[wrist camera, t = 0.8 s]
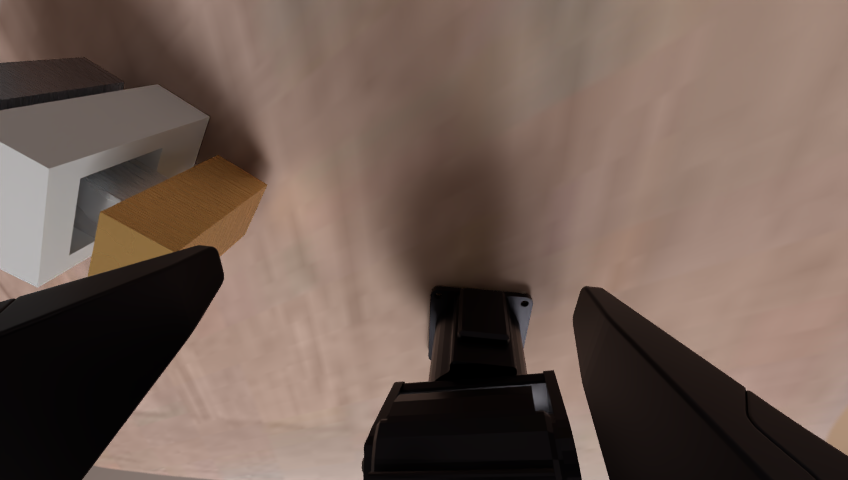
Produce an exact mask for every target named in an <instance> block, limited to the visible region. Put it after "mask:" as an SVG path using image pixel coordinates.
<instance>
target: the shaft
mask: <svg viewBox="0 0 848 480" xmlns="http://www.w3.org/2000/svg"><path fill="white" fill-rule="evenodd" d="M266 187H267V184H265V183H264V182H262V181H260V180H259V179H257V178H255V177H254V176H252V175H251V174H249V173H247V172H246V171H244V170H242V169H241V168H239V167H237V166H236V165H234V164H232V163H231V162H229V161H227V160H226V159H224V158H223V157H221V156H219V155H217V156H215V157H213V158H211V159H208V160H206V161H204V162H202V163H200V164H198V165H196V166H194V167H192V168H190V169H188V170H186V171H184V172H182V173H179V174H177V175H175V176H173V177H171V178H167V177H166V176H164V175H162V174H160V173H159V172H157V171H155V170H154V169H152V168H150V167H148V166H147V165H145V164H143V163H142V162H140V161H138V160H136V159H135V158H134V159H131V160H128V161H126V162H123V163H120V164H117V165H115V166H112V167H109V168H107V169H104V170H101V171H99V172H96V173H93V174H91V175H88V176H85V177H83V178H80V184H79V191H78V198H77V205H76V212H75V218H74V225H73V227H75V228H76V229H78V230H80V231H82V232H84V233H86V234H88V235H90V236H92V237H93V238H95V241H94V246H93V252H92V257H91V262H90V268H89V273H88V277H89V276H93V275H96V274H100V273H103V272H107V271H110V270H114V269H117V268H120V267H124V266H127V265H131V264H134V263H138V262H141V261H145V260H148V259H152V258H155V257H159V256H162V255H165V254H169V253H172V252H176V251H179V250H183V249H186V248H190V247H193V246H197V245H204V246H213V247H215V248H216V249H217V250H218V252H219V256H221V255H222V254H223V253H225V252H226V251H227V250H228V249H229V248H230V247H231V246H232V245H234V244H235V243H236V242H237V241H238V240H239V239H240V238H241V237H243V236H244V235H245V233H246V231H247V229H248V226H249V224H250V222H251V220H252V218H253V215H254V213H255V211H256V209H257V207H258V204H259V202H260V200H261V198H262V196H263V193H264V191H265V189H266Z"/></svg>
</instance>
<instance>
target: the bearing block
mask: <svg viewBox="0 0 848 480" xmlns="http://www.w3.org/2000/svg"><path fill="white" fill-rule="evenodd" d="M209 118H210V117H209V116H208V115H206V114H205V113H203V112H201V111H200V110H198V109H197V108H195V107H193V106H192V105H190V104H189V103H187V102H185V101H184V100H182V99H181V98H179V97H177V96H176V95H174V94H173V93H171V92H169V91H168V90H166V89H165V88H163V87H161V86H160V85H158V84H156V85H150V86H144V87H138V88H132V89H126V90H120V91H114V92H108V93H102V94H96V95H90V96H84V97H77V98H71V99H65V100H59V101H53V102H47V103H41V104H35V105H29V106H23V107H17V108H11V109H5V110H0V269H1V270H3V271H5V272H7V273H9V274H11V275H13V276H15V277H17V278H19V279H21V280H23V281H25V282H27V283H29V284H31V285H33V286H35V287H37V288H38V287H40V286H41V285H43V284H45V283H46V282H48V281H50V280H52V279H53V278H55V277H57V276H58V275H60V274H62V273H64V272H65V271H67V270H69V269H70V268H72V267H74V266H75V265H77V264H79V263H81V262H82V261H84V260H86V259H87V258H89V257H91V256H92V252H93V246H94V241H95V238H93V237H92V236H90V235H88V234H86V233H84V232H82V231H80V230H78V229H76V228H75V227H73V225H74V218H75V212H76V205H77V198H78V191H79V184H80V178H83V177H85V176H88V175H91V174H93V173H96V172H99V171H101V170H104V169H107V168H109V167H112V166H115V165H117V164H120V163H123V162H126V161H128V160H131V159H134V158H135V159H136V160H138V161H140V162H142V163H143V164H145V165H147V166H148V167H150V168H152V169H154V170H155V171H157V172H159V173H160V174H162V175H164V176H166V177H167V178H171V177H173V176H175V175H177V174H179V173H182V172H184V171H186V170H188V169H190V168H192V167H194V164H195V161H196V158H197V155H198V152H199V149H200V146H201V143H202V140H203V137H204V133H205V130H206V127H207V124H208V121H209Z"/></svg>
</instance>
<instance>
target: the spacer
mask: <svg viewBox="0 0 848 480" xmlns="http://www.w3.org/2000/svg"><path fill="white" fill-rule="evenodd" d="M123 87H124V82H123V81H122V80H120V79H119V78H117V77H115V76H114V75H112V74H111V73H109V72H107V71H106V70H104V69H102V68H101V67H99V66H98V65H96V64H94V63H93V62H91V61H89V60H88V59H86V58H85V57H83V58H67V59H52V60H37V61H22V62H7V63H0V110H5V109H11V108H17V107H23V106H29V105H35V104H41V103H47V102H53V101H59V100H65V99H71V98H77V97H84V96H90V95H96V94H102V93H108V92H114V91H120V90H123Z"/></svg>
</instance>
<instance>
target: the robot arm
mask: <svg viewBox="0 0 848 480" xmlns="http://www.w3.org/2000/svg"><path fill="white" fill-rule="evenodd" d="M223 280H224V272H223V268H222V264H221V260H220V256H219V252H218V250H217V249H216V248H215V247H213V246H204V245H197V246H193V247H190V248H186V249H183V250H179V251H176V252H172V253H169V254H165V255H162V256H159V257H155V258H152V259H148V260H145V261H141V262H138V263H134V264H131V265H127V266H124V267H120V268H117V269H114V270H110V271H107V272H103V273H100V274H96V275H93V276H89V277H86V278H82V279H79V280H75V281H72V282H69V283H65V284H62V285H58V286H55V287H51V288H48V289H44V290H41V291H37V292H34V293H30V294H27V295H24V296H20V297H18V298H17V299H9V300H6V301H3V302H0V480H82V479H83V478H84V476H85V475H86V474H87V473H88V471H89V470H90V469H91V467H92V466H93V465H94V463H95V462H96V461H97V459H98V458H99V457H100V455H101V454H102V453H103V451H104V450H105V449H106V447H107V446H108V445H109V443H110V442H111V441H112V439H113V438H114V437H115V435H116V434H117V433H118V431H119V430H120V429H121V427H122V426H123V425H124V423H125V422H126V421H127V419H128V418H129V417H130V415H131V414H132V413H133V411H134V410H135V409H136V407H137V406H138V405H139V403H140V402H141V401H142V399H143V398H144V397H145V395H146V394H147V393H148V391H149V390H150V389H151V387H152V386H153V385H154V383H155V382H156V381H157V380H158V378H159V377H160V376H161V374H162V373H163V372H164V370H165V369H166V368H167V366H168V365H169V364H170V362H171V361H172V360H173V358H174V357H175V356H176V354H177V353H178V352H179V350H180V349H181V348H182V346H183V345H184V344H185V342H186V341H187V340H188V338H189V337H190V335H191V334H192V333H193V331H194V329H195V328H196V326H197V325H198V323H199V321H200V320H201V318H202V317H203V315H204V313H205V312H206V310H207V308H208V307H209V305H210V303H211V302H212V300H213V298H214V297H215V295H216V293H217V292H218V290H219V288H220V287H221V285H222V283H223ZM436 293H440V294H442V295H436ZM522 301H527V302H526V303H522ZM532 306H533V301H532V298H531V296H530V295H528V294H523V293H512V292H502V291H493V290H481V289H470V288H454V287H442V286H436V287H434V288H433V289H432V291H431V302H430V328H429V355H428V356H429V359H430V360H431V366H430V374H429V382H416V383H405V382H395V383H394V385H393V386H392V388H391V390H390V392H389V394H388V396H387V398H386V400H385V402H384V404H383V406H382V408H381V410H380V412H379V414H378V416H377V418H376V420H375V422H374V424H373V426H372V428H371V431H370V433H369V436H368V438H367V440H366V442H365V444H364V458H363V461H362V471H363V477H364V480H582V478H581V473H580V467H579V462H578V457H577V452H576V448H575V443H574V439H573V435H572V431H571V427H570V423H569V419H568V416H567V413H566V409H565V406H564V403H563V399H562V396H561V393H560V389H559V386H558V383H557V379H556V376H555V373H554V370H551V371H543V373H538V374H527V369H526V363H525V357H524V350H523V348H524V344H525V339H526V334H527V329H528V325H529V320H530V315H531V310H532ZM573 327H574V334H575V340H576V347H577V353H578V360H579V366H580V372H581V378H582V383H583V387H584V391H585V395H586V398H587V402H588V405H589V409H590V412H591V416H592V419H593V423H594V426H595V430H596V433H597V437H598V440H599V444H600V448H601V451H602V455H603V458H604V462H605V465H606V469H607V472H608V476H609V479H610V480H848V456H847V455H845V454H844V453H842V452H841V451H839V450H838V449H836V448H835V447H833V446H832V445H830V444H828V443H827V442H825V441H824V440H822V439H821V438H819V437H818V436H816V435H814V434H813V433H811V432H810V431H808V430H807V429H805V428H804V427H802V426H801V425H799V424H798V423H796V422H795V421H793V420H792V419H790V418H789V417H787V416H786V415H784V414H783V413H781V412H780V411H778V410H777V409H775V408H774V407H773V406H771V405H770V404H768V403H767V402H765V401H764V400H762V399H761V398H760V397H758V396H757V395H755V394H754V393H752V392H751V391H746V388H745V387H744V386H742V385H741V384H739V383H738V382H736V381H735V380H734V379H732V378H731V377H729V376H728V375H726V374H725V373H724V372H722V371H721V370H719V369H718V368H716V367H715V366H713V365H712V364H711V363H709V362H708V361H706V360H705V359H703V358H702V357H701V356H699V355H698V354H696V353H695V352H693V351H692V350H690V349H689V348H688V347H686V346H685V345H683V344H682V343H680V342H679V341H678V340H676V339H675V338H673V337H672V336H670V335H669V334H667V333H666V332H665V331H663V330H662V329H660V328H659V327H657V326H656V325H654V324H653V323H652V322H650V321H649V320H647V319H646V318H644V317H643V316H642V315H640V314H639V313H637V312H636V311H634V310H633V309H631V308H630V307H629V306H627V305H626V304H624V303H623V302H621V301H620V300H619V299H617V298H616V297H614V296H613V295H611V294H610V293H608V292H607V291H606V290H604V289H603V288H599V287H589V286H585V287H583V288H582V289H581V291H580V294H579V298H578V301H577V304H576V308H575V311H574V314H573Z"/></svg>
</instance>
